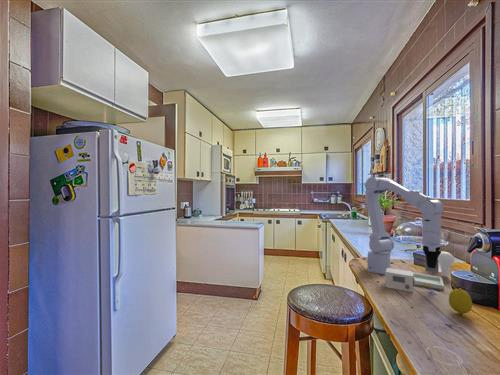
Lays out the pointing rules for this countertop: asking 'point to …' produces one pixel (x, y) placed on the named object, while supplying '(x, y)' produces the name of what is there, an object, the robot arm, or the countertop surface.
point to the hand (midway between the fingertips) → (431, 266)
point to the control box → (400, 279)
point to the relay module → (433, 270)
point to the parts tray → (428, 281)
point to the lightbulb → (445, 262)
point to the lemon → (460, 301)
